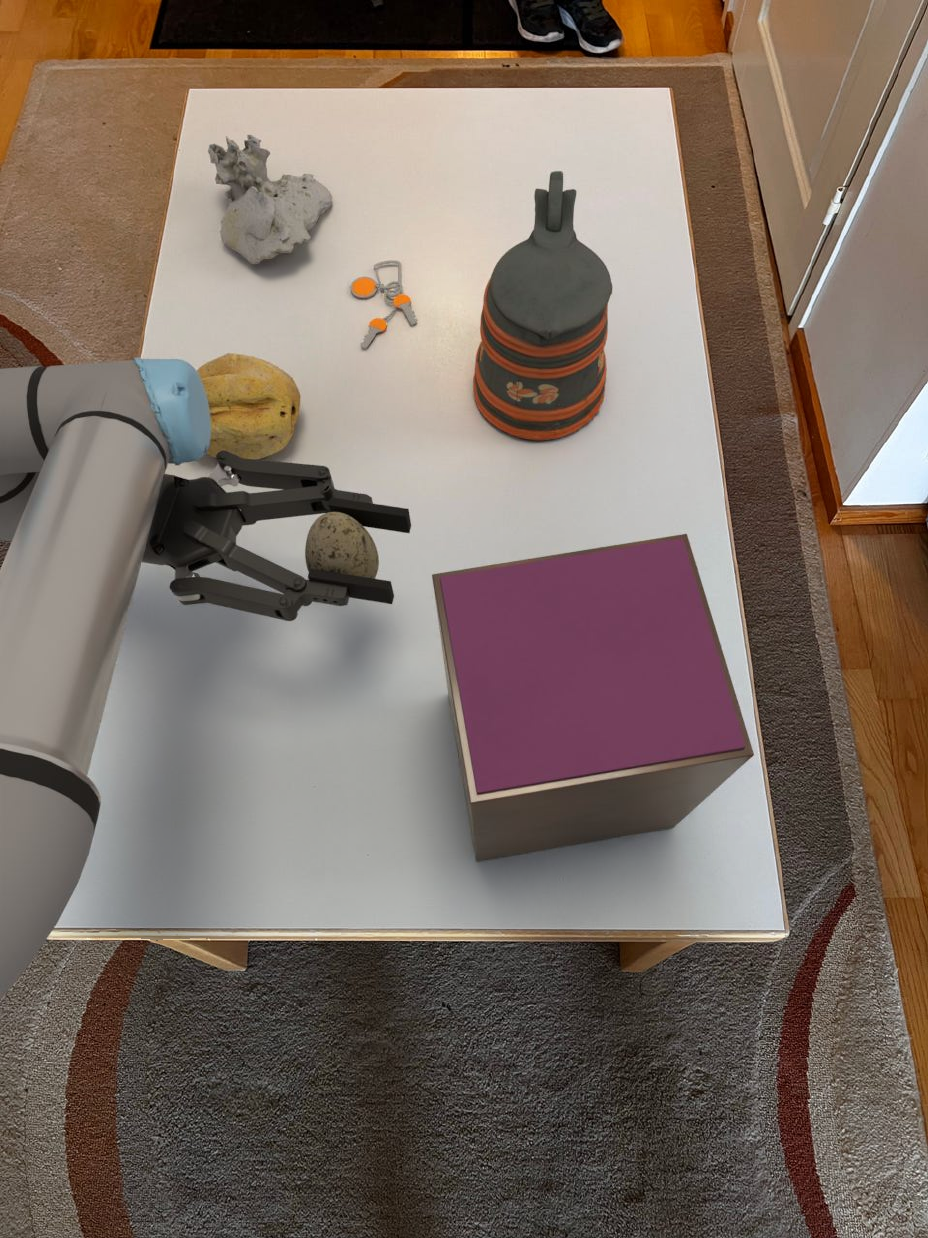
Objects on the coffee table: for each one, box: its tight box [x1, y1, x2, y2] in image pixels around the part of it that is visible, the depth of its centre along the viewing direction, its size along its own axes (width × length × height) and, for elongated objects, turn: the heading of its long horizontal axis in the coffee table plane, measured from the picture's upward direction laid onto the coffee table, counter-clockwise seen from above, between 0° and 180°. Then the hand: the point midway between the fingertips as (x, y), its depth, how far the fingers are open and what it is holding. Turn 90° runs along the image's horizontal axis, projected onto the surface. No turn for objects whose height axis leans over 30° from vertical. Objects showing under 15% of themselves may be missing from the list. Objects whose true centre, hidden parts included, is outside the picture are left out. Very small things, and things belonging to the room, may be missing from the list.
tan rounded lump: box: [196, 352, 301, 460], centre depth 92 cm, size 13×10×10 cm
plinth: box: [431, 533, 755, 863], centre depth 69 cm, size 18×16×26 cm
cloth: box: [440, 538, 746, 794], centre depth 57 cm, size 17×15×1 cm
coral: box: [207, 134, 333, 265], centre depth 104 cm, size 17×14×10 cm
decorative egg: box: [304, 512, 380, 579], centre depth 71 cm, size 6×6×10 cm
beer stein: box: [472, 170, 613, 442], centre depth 89 cm, size 19×15×20 cm
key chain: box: [349, 260, 418, 349], centre depth 103 cm, size 13×7×1 cm, turn 8°
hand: (399, 556), depth 70 cm, fingers closed on decorative egg, 6 cm apart
